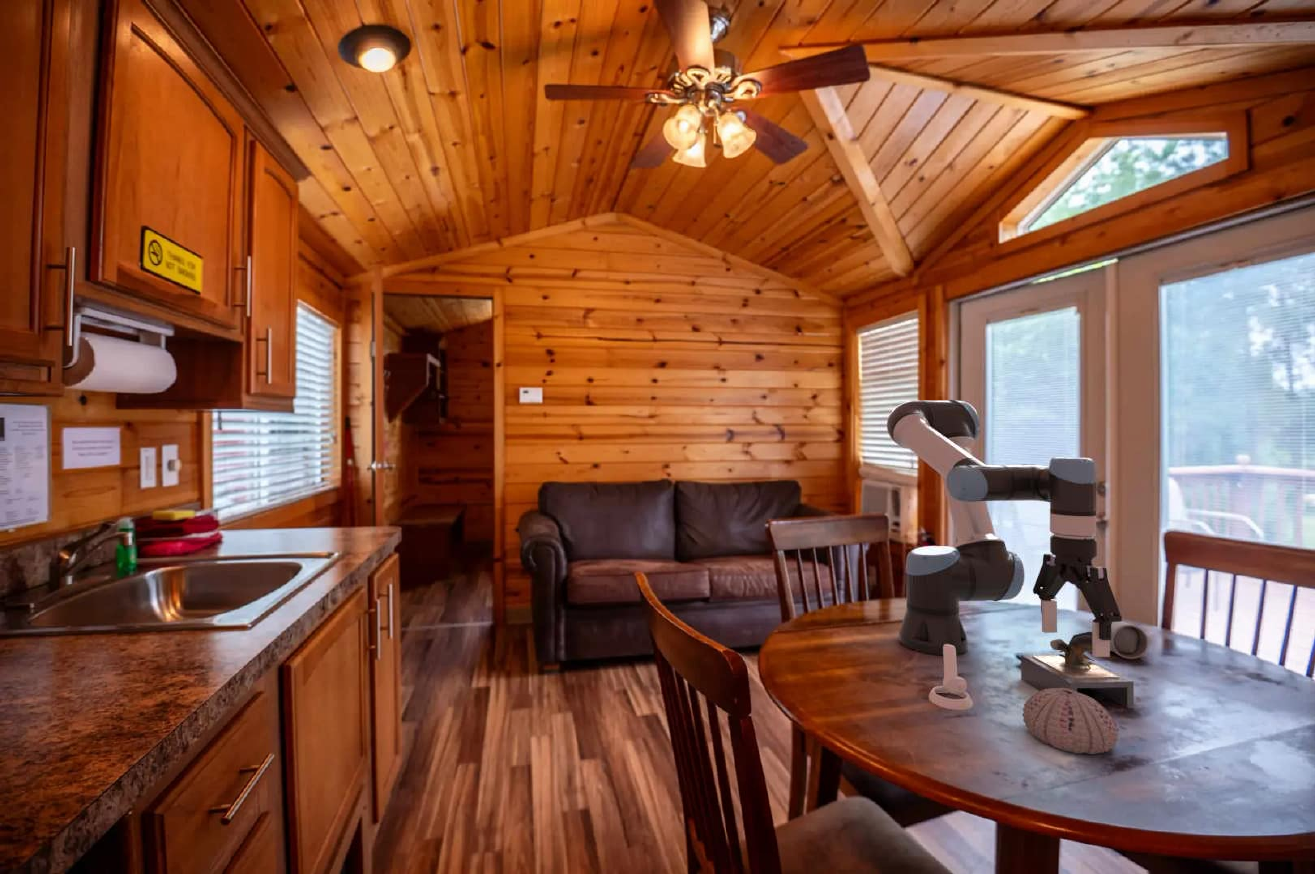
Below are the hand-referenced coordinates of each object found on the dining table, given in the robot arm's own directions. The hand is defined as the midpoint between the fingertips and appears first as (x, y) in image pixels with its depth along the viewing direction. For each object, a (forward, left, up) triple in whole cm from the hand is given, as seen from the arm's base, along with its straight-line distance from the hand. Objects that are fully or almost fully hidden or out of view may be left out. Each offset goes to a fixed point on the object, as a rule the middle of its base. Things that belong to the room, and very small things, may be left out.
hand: (1073, 643), depth 116 cm
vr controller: (-26, -2, -10) cm, 28 cm away
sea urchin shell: (-14, -17, -10) cm, 24 cm away
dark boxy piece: (0, 0, -10) cm, 10 cm away
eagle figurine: (+2, +1, -5) cm, 5 cm away
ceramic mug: (+25, +20, -10) cm, 34 cm away
